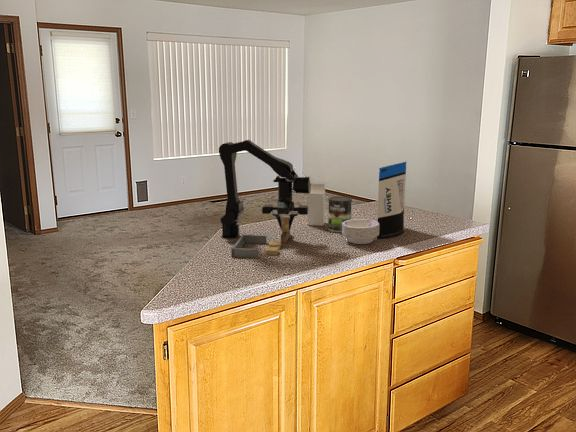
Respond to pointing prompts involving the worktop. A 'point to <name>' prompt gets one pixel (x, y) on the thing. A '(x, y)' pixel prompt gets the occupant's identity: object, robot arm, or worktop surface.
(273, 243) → the tan square block
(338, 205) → the coffee can
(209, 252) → the worktop surface
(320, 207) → the milk carton
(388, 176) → the protein powder
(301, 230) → the worktop surface
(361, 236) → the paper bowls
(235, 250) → the tray
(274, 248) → the chip
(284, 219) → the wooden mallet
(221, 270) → the worktop surface
